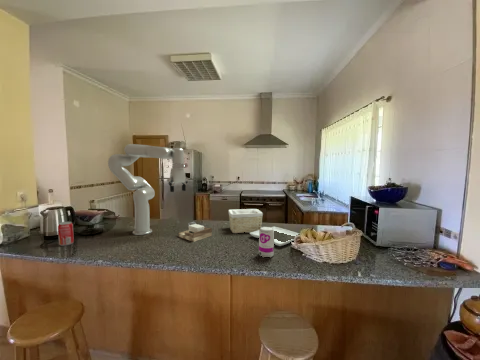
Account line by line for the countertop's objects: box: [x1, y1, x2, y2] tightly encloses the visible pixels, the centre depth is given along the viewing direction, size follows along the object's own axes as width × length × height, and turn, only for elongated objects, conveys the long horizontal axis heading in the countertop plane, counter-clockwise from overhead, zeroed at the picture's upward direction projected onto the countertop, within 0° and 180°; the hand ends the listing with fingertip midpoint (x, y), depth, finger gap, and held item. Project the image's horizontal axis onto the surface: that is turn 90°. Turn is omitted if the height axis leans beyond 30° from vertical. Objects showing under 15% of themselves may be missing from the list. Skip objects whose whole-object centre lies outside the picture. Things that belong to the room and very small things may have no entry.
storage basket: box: [228, 208, 264, 234], centre depth 169 cm, size 24×16×15 cm
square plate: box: [249, 226, 300, 247], centre depth 151 cm, size 27×27×4 cm
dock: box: [177, 226, 213, 243], centre depth 153 cm, size 16×16×6 cm
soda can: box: [57, 221, 75, 247], centre depth 133 cm, size 7×7×13 cm
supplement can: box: [258, 226, 275, 258], centre depth 123 cm, size 8×8×15 cm
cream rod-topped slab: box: [187, 221, 205, 233], centre depth 152 cm, size 10×6×6 cm, turn 52°
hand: (178, 191), depth 154 cm, fingers open, 9 cm apart
